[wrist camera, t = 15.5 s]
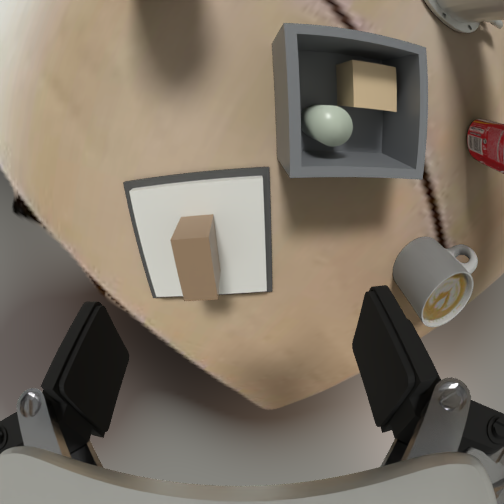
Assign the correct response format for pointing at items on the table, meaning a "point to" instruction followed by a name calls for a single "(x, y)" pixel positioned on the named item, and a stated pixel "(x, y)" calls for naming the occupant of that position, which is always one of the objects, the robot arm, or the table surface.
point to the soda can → (487, 143)
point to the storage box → (349, 103)
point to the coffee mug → (435, 279)
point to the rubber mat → (205, 176)
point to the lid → (203, 236)
